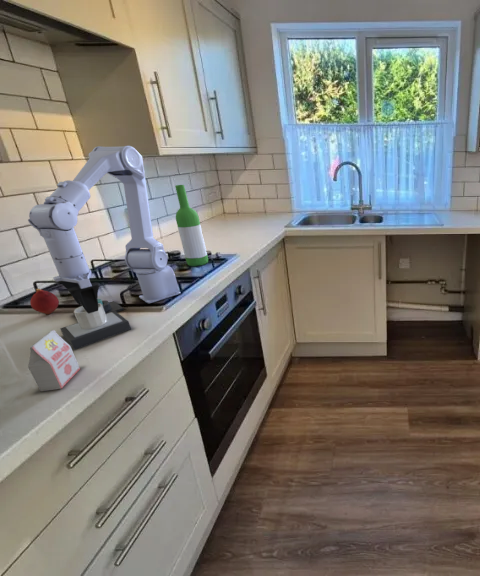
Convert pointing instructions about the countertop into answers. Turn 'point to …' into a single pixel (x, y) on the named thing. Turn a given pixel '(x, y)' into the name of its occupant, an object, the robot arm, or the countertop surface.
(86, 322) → the cup
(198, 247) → the wine bottle
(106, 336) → the scale
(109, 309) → the pad
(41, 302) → the onion
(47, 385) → the printed snack carton
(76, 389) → the countertop surface
